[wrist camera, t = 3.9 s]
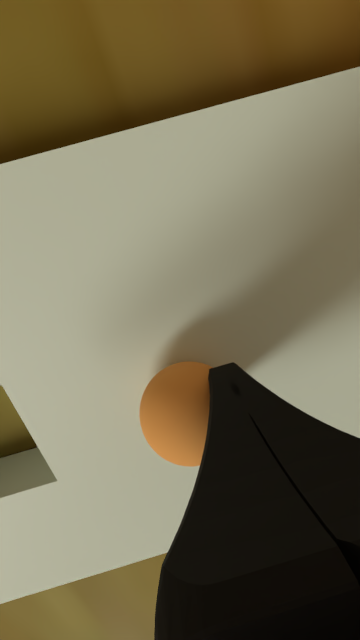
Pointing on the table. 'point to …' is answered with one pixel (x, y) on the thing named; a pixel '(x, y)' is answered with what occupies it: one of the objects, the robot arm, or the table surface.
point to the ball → (177, 412)
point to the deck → (168, 307)
